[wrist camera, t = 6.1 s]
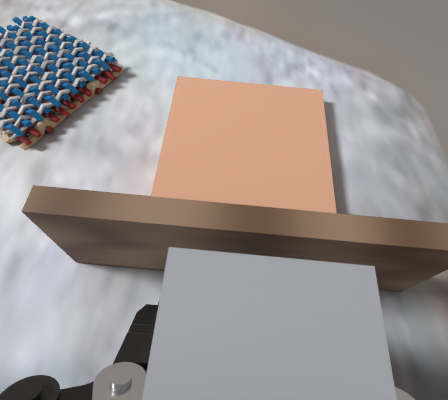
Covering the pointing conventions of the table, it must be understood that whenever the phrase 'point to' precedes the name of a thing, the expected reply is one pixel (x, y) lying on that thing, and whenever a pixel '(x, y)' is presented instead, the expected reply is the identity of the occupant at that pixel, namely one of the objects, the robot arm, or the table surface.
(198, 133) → the terracotta tile
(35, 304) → the table surface
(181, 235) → the walnut screen
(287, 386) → the plain grey block
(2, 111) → the woven mat
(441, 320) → the table surface
